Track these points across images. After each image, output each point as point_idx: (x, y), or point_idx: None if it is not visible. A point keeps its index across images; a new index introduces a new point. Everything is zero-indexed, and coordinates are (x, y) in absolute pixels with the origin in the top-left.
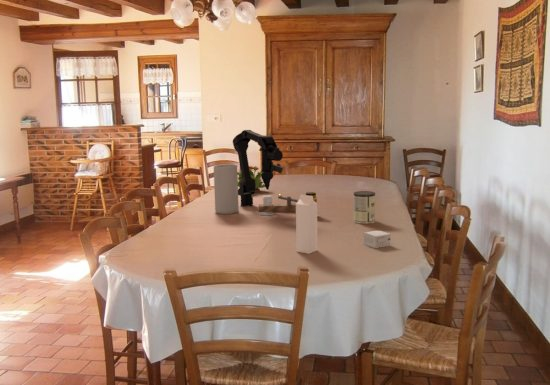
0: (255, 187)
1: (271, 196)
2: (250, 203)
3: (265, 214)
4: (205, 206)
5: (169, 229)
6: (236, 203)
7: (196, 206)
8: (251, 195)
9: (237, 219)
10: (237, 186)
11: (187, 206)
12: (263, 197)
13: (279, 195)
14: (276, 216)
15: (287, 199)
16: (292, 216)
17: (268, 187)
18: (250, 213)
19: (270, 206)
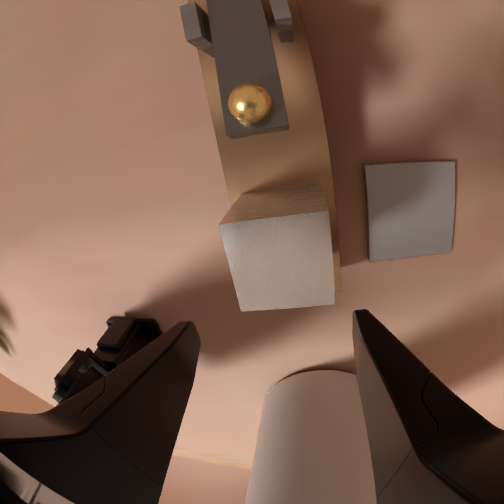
0: (79, 380)
1: (309, 218)
2: (140, 333)
3: (447, 215)
4: (206, 442)
5: (499, 426)
6: (354, 411)
7: (212, 453)
8: (115, 360)
9: (487, 335)
10: (333, 501)
11: (216, 463)
12: (334, 300)
13: (268, 111)
14: (479, 139)
15: (291, 21)
16: (471, 37)
17: (382, 332)
18: (374, 309)
19: (334, 196)
